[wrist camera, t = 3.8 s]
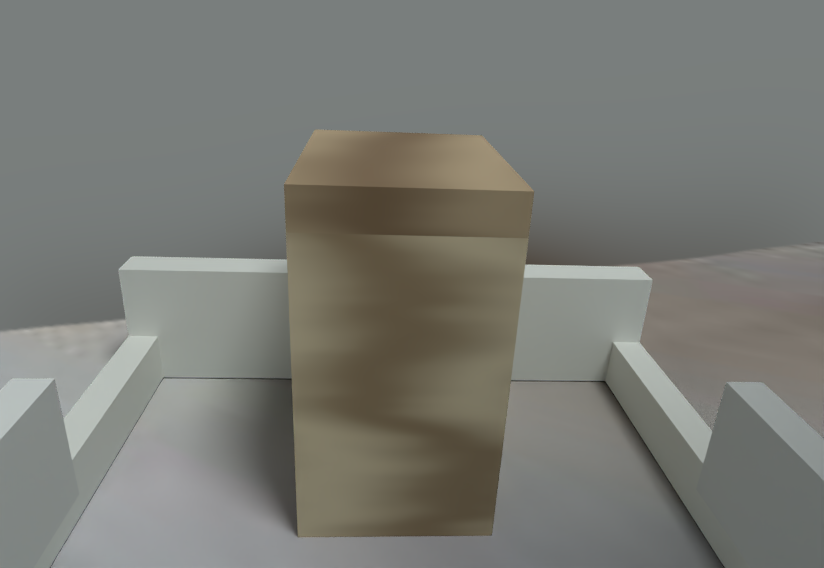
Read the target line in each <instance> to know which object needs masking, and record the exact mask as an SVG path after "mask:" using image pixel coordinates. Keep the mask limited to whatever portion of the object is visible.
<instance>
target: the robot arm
mask: <svg viewBox="0 0 824 568" xmlns="http://www.w3.org/2000/svg"><path fill="white" fill-rule="evenodd" d="M696 490H697V491H698V493H699V494H700V496H701V497H702V498H703V500H704V501H705V503H706V504H707V506H708V507H709V509H710V510H711V511H712V513H713V514H714V516H715V517H716V519H717V520H718V521H719V523H720V524H721V526H722V527H723V529H724V530H725V532H726V533H727V534H728V536H729V537H730V539H731V540H732V542H733V543H734V545H735V546H736V547H737V549H738V550H739V552H740V553H741V555H742V556H743V558H744V559H745V560H746V562H747V563H748V565H749V566H750V568H824V438H823V437H821V436H820V435H819V434H818V433H817V432H816V431H815V430H814V429H813V428H812V427H811V426H810V425H808V424H807V423H806V422H805V421H804V420H803V419H802V418H801V417H800V416H799V415H798V414H797V413H795V412H794V411H793V410H792V409H791V408H790V407H789V406H788V405H787V404H786V403H785V402H784V401H782V400H781V399H780V398H779V397H778V396H777V395H776V394H775V393H774V392H773V391H772V390H770V389H769V388H768V387H767V386H766V385H765V384H764V383H763V382H726V385H725V389H724V392H723V396H722V399H721V403H720V406H719V410H718V413H717V417H716V421H715V424H714V428H713V431H712V435H711V438H710V442H709V445H708V449H707V452H706V456H705V459H704V463H703V466H702V470H701V473H700V477H699V480H698V484H697V488H696ZM78 496H79V490H78V485H77V481H76V476H75V471H74V467H73V462H72V457H71V453H70V448H69V443H68V439H67V434H66V429H65V425H64V420H63V415H62V411H61V406H60V401H59V397H58V392H57V387H56V383H55V379H28V378H12V379H11V380H10V381H9V382H8V383H7V384H6V385H5V386H4V387H3V388H2V389H1V390H0V568H34V567H35V565H36V563H37V562H38V560H39V559H40V557H41V555H42V554H43V552H44V550H45V549H46V547H47V546H48V544H49V542H50V541H51V539H52V538H53V536H54V534H55V533H56V531H57V530H58V528H59V526H60V525H61V523H62V521H63V520H64V518H65V517H66V515H67V513H68V512H69V510H70V509H71V507H72V505H73V504H74V502H75V500H76V499H77V497H78Z"/></svg>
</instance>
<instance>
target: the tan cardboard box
mask: <svg viewBox="0 0 824 568" xmlns="http://www.w3.org/2000/svg"><path fill="white" fill-rule="evenodd" d="M284 191H285V192H284V193H285V219H286V243H287V245H286V246H287V271H288V297H289V323H290V349H291V374H292V400H293V426H294V451H295V477H296V503H297V529H298V537H380V536H492V529H493V521H494V513H495V505H496V497H497V489H498V481H499V473H500V465H501V457H502V448H503V440H504V432H505V424H506V416H507V408H508V400H509V392H510V384H511V376H512V368H513V359H514V351H515V343H516V335H517V327H518V319H519V311H520V303H521V295H522V287H523V279H524V270H525V262H526V254H527V246H528V237H529V229H530V222H531V214H532V205H533V197H534V191H533V190H532V188H531V187H530V186H529V185H528V184H527V183H526V182H525V181H524V180H523V179H522V178H521V177H520V176H519V175H518V174H517V172H516V171H514V169H513V168H512V167H511V166H510V165H509V164H508V163H507V162H506V161H505V160H504V159H503V158H502V156H501V155H499V153H498V152H497V151H496V150H495V149H494V148H493V147H492V146H491V145H490V144H489V143H488V142H487V140H486V139H485V138H484V137H483V136H481V135H453V134H425V133H397V132H395V133H394V132H368V131H340V130H337V131H336V130H314V132H313V134H312V136H311V138H310V139H309V141H308V143H307V145H306V146H305V148H304V150H303V152H302V154H301V155H300V157H299V159H298V160H297V162H296V164H295V166H294V168H293V169H292V171H291V173H290V175H289V176H288V178H287V180H286V182H285V184H284Z"/></svg>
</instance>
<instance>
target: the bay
mask: <svg viewBox="0 0 824 568" xmlns="http://www.w3.org/2000/svg"><path fill="white" fill-rule="evenodd" d="M118 271H119V278H120V284H121V291H122V296H123V303H124V309H125V316H126V323H127V329H128V337H127V339H126V340H125V341H124V342H123V344H122V345H121V346H120V348H119V349H118V350H117V351H116V353H115V354H114V355H113V356H112V358H111V359H110V360H109V362H108V363H107V364H106V365H105V367H104V368H103V369H102V370H101V372H100V373H99V374H98V376H97V377H96V378H95V379H94V381H93V382H92V383H91V384H90V386H89V387H88V388H87V390H86V391H85V392H84V393H83V395H82V396H81V397H80V398H79V400H78V401H77V402H76V404H75V405H74V406H73V407H72V409H71V410H70V411H69V412H68V414H67V415H66V416H65V418H64V419H63V420H64V425H65V429H66V434H67V439H68V443H69V448H70V453H71V457H72V462H73V467H74V471H75V476H76V481H77V485H78V490H79V496H78V497H77V499H76V500H75V502H74V504H73V505H72V507H71V509H70V510H69V512H68V513H67V515H66V517H65V518H64V520H63V521H62V523H61V525H60V526H59V528H58V530H57V531H56V533H55V534H54V536H53V538H52V539H51V541H50V542H49V544H48V546H47V547H46V549H45V550H44V552H43V554H42V555H41V557H40V559H39V560H38V562H37V563H36V565H35V567H34V568H50V566H51V565H52V563H53V561H54V560H55V558H56V556H57V555H58V553H59V551H60V550H61V548H62V546H63V545H64V543H65V541H66V540H67V538H68V536H69V535H70V533H71V531H72V530H73V528H74V526H75V525H76V523H77V521H78V520H79V518H80V516H81V515H82V513H83V511H84V510H85V508H86V506H87V504H88V503H89V501H90V499H91V498H92V496H93V494H94V493H95V491H96V489H97V488H98V486H99V484H100V483H101V481H102V479H103V478H104V476H105V474H106V473H107V471H108V469H109V468H110V466H111V464H112V463H113V461H114V459H115V458H116V456H117V454H118V453H119V451H120V449H121V448H122V446H123V444H124V443H125V441H126V439H127V437H128V436H129V434H130V432H131V431H132V429H133V427H134V426H135V424H136V422H137V421H138V419H139V417H140V416H141V414H142V412H143V411H144V409H145V407H146V406H147V404H148V402H149V401H150V399H151V397H152V396H153V394H154V392H155V391H156V389H157V387H158V386H159V384H160V382H161V381H162V379H163V377H177V378H292V374H291V349H290V323H289V297H288V271H287V260H279V259H278V260H277V259H232V258H231V259H230V258H229V259H228V258H183V257H182V258H181V257H136V256H135V257H134V256H132V257H131V258H130V259H129V260H128V261H127V262H126V263H125V264H124V265H122V266H121V267H120V268H119V269H118ZM652 281H653V280H652V279H651V278H650V277H649V276H648V275H647V274H646V273H645V272H644V271H642V270H641V269H640V268H639V267H611V266H563V265H525V270H524V279H523V287H522V295H521V303H520V311H519V319H518V327H517V335H516V343H515V351H514V359H513V368H512V376H511V380H541V381H606V383H607V384H608V386H609V387H610V389H611V391H612V392H613V394H614V395H615V397H616V398H617V400H618V402H619V403H620V405H621V406H622V408H623V409H624V411H625V412H626V414H627V416H628V417H629V419H630V420H631V422H632V423H633V425H634V427H635V428H636V430H637V431H638V433H639V434H640V436H641V437H642V439H643V441H644V442H645V444H646V445H647V447H648V448H649V450H650V452H651V453H652V455H653V456H654V458H655V459H656V461H657V462H658V464H659V466H660V467H661V469H662V470H663V472H664V473H665V475H666V477H667V478H668V480H669V481H670V483H671V484H672V486H673V487H674V489H675V491H676V492H677V494H678V495H679V497H680V498H681V500H682V502H683V503H684V505H685V506H686V508H687V509H688V511H689V513H690V514H691V516H692V517H693V519H694V520H695V522H696V523H697V525H698V527H699V528H700V530H701V531H702V533H703V534H704V536H705V538H706V539H707V541H708V542H709V544H710V545H711V547H712V548H713V550H714V552H715V553H716V555H717V556H718V558H719V559H720V561H721V563H722V564H723V566H724V567H725V568H750V566H749V565H748V563H747V562H746V560H745V559H744V558H743V556H742V555H741V553H740V552H739V550H738V549H737V547H736V546H735V545H734V543H733V542H732V540H731V539H730V537H729V536H728V534H727V533H726V532H725V530H724V529H723V527H722V526H721V524H720V523H719V521H718V520H717V519H716V517H715V516H714V514H713V513H712V511H711V510H710V509H709V507H708V506H707V504H706V503H705V501H704V500H703V498H702V497H701V496H700V494H699V493H698V491H697V490H696V488H697V484H698V480H699V477H700V473H701V470H702V466H703V463H704V459H705V456H706V452H707V449H708V445H709V442H710V438H711V435H712V430H711V429H710V428H709V427H708V425H707V424H706V423H705V422H704V420H703V419H702V418H701V417H700V416H699V414H698V413H697V412H696V411H695V410H694V408H693V407H692V406H691V405H690V403H689V402H688V401H687V400H686V399H685V397H684V396H683V395H682V394H681V393H680V391H679V390H678V389H677V388H676V386H675V385H674V384H673V383H672V382H671V380H670V379H669V378H668V377H667V376H666V374H665V373H664V372H663V371H662V369H661V368H660V367H659V366H658V365H657V363H656V362H655V361H654V360H653V358H652V357H651V356H650V355H649V354H648V352H647V351H646V350H645V349H644V348H643V346H642V345H641V344H640V343H639V342H640V337H641V333H642V328H643V323H644V319H645V314H646V309H647V304H648V300H649V295H650V290H651V286H652Z"/></svg>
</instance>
